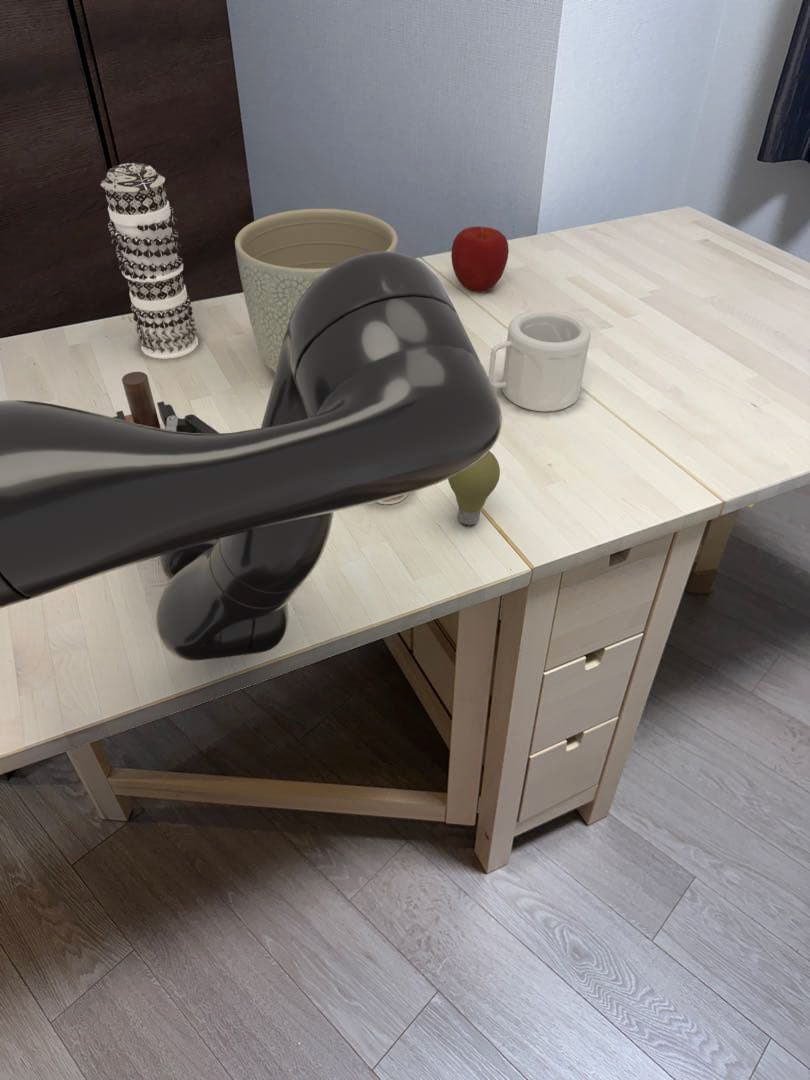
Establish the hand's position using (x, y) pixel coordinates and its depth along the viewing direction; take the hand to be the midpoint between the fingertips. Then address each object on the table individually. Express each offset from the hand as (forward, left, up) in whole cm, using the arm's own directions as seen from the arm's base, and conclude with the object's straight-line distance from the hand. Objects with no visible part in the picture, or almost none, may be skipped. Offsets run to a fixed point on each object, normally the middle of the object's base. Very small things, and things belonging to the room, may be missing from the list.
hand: (141, 413), depth 84 cm
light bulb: (+24, -30, -9) cm, 39 cm away
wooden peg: (0, -3, -8) cm, 8 cm away
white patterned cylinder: (+15, +28, -9) cm, 33 cm away
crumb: (+2, +8, -8) cm, 11 cm away
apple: (+66, +15, -9) cm, 68 cm away
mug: (+49, -15, -9) cm, 52 cm away
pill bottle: (+20, -20, -9) cm, 29 cm away
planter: (+30, +8, -9) cm, 32 cm away
